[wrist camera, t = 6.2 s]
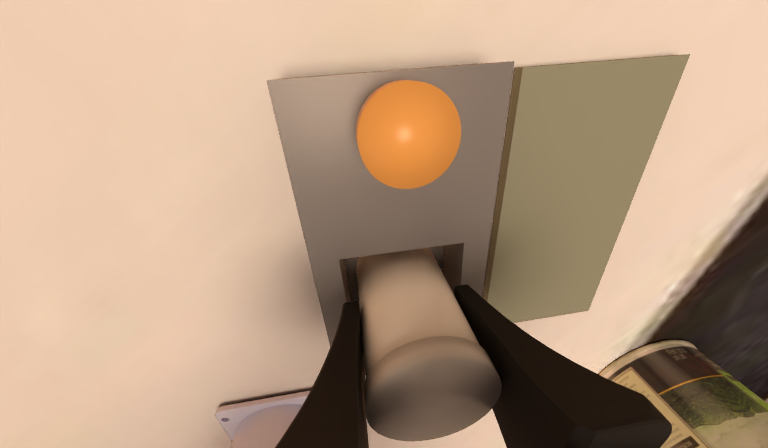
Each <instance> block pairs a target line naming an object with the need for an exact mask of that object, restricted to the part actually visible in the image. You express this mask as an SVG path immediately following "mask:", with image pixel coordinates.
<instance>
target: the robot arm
mask: <svg viewBox="0 0 768 448" xmlns="http://www.w3.org/2000/svg"><path fill="white" fill-rule="evenodd" d="M454 296H455V298H456V300H457V302H458V304H459V306H460V308H461V310H462V312H463V313H464V315H465V317H466V319H467V321H468V323H469V325H470V327H471V329H472V331H473V333H474V335H475V337H476V339H477V341H478V343H479V345H480V346H481V347H482V348H483V349H484V350H485V351H486V352H487V354H488V356H489V358H490V359H491V361H492V363H493V365H494V367H495V369H496V371H497V373H498V375H499V377H500V379H501V384H502V388H501V393H500V396H499V398H498V400H497V402H496V404H495V405H494V406H493V408H492V409H493V411H494V414H495V416H496V419H497V422H498V424H499V427H500V430H501V433H502V435H503V438H504V441H505V443H506V446H507V448H660V447H661V446H662V445H663V444H664V443H665V441H666V440H667V439H668V438H669V436H670V435H671V433H672V425H671V423H670V422H669V421H668V420H667V418H666V417H665V416H664V415H663V414H662V413H661V412H660V411H659V410H658V409H657V408H656V407H655V406H654V405H653V404H652V403H651V402H650V401H649V400H648V399H647V398H646V397H645V396H644V395H643V394H641V393H639V392H636V391H634V390H632V389H629V388H627V387H625V386H622V385H620V384H618V383H615V382H613V381H611V380H609V379H607V378H604V377H602V376H600V375H598V374H596V373H594V372H592V371H590V370H588V369H586V368H584V367H582V366H580V365H579V364H577V363H575V362H573V361H571V360H569V359H568V358H566V357H564V356H562V355H561V354H559V353H557V352H555V351H554V350H552V349H550V348H549V347H547V346H546V345H544V344H542V343H541V342H539V341H538V340H536V339H535V338H533V337H532V336H530V335H529V334H527V333H526V332H525V331H523V330H522V329H520V328H519V327H518V326H516V325H515V324H514V323H512V322H511V321H510V320H509V319H507V318H506V317H505V316H504V315H502V314H501V313H500V312H499V311H498V310H496V309H495V308H494V307H493V306H492V305H490V304H489V303H488V302H487V301H486V300H485V299H484V298H482V297H481V296H480V295H479V294H478V293H477V292H476V291H475V290H473V289H472V288H471V287H470V286H469V285H468V284H466V285H459V286H455V290H454ZM364 384H365V361H364V349H363V338H362V326H361V315H360V309H359V302H358V301H353V302H346V303H344V304H343V307H342V312H341V317H340V321H339V324H338V328H337V331H336V334H335V337H334V339H333V342H332V345H331V348H330V350H329V353H328V355H327V357H326V360H325V362H324V364H323V367H322V369H321V371H320V373H319V375H318V377H317V379H316V381H315V383H314V385H313V387H312V389H311V391H305V392H299V393H294V394H288V395H282V396H277V397H271V398H265V399H260V400H254V401H248V402H243V403H237V404H231V405H226V406H221V407H219V408H218V409H217V411H216V413H215V417H216V418H217V420H218V421H219V423H220V424H221V426H222V427H223V429H224V430H225V432H226V433H227V435H228V436H229V438H230V439H231V441H232V445H231V448H369V445H368V434H367V422H366V407H365V394H364Z"/></svg>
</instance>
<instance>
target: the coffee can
mask: <svg viewBox="0 0 768 448" xmlns="http://www.w3.org/2000/svg"><path fill="white" fill-rule="evenodd" d="M599 375H600V376H602V377H604V378H607V379H609V380H611V381H613V382H615V383H618V384H620V385H622V386H625V387H627V388H629V389H632V390H634V391H636V392H639V393H641V394H643V395H644V396H645V397H646V398H647V399H648V400H649V401H650V402H651V403H652V404H653V405H654V406H655V407H656V408H657V409H658V410H659V411H660V412H661V413H662V414H663V415H664V416H665V417H666V418H667V420H668V421H669V422H670V423H671V425H672V433H671V435H670V436H669V438H668V439H667V440H666V441H665V443H664V444H663V445H662V446H661V447H660V448H768V404H767V403H766V402H765V401H763V400H762V399H761V398H759V397H758V396H757V395H755V394H754V393H753V392H752V391H750V390H749V389H748V388H746V387H745V386H744V385H743V384H741V383H740V382H739V381H738V380H736V379H735V378H734V377H732V376H731V375H730V374H729V373H727V372H726V371H725V370H723V369H722V368H721V367H719V366H718V365H717V364H716V363H714V362H713V361H712V360H710V359H709V358H708V357H707V356H705V355H704V354H703V353H702V352H700V351H699V350H698V349H697V348H696V347H695V346H694V345H693V344H691V343H690V342H687V341H684V340H664V341H659V342H655V343H651V344H647V345H644V346H642V347H639V348H637V349H635V350H632V351H630V352H628V353H627V354H625V355H623V356H621V357H620V358H618V359H617V360H615V361H614V362H612V363H611V364H610V365H608V366H607V367H606V368H605V369H604V370H602V371H601V372H600V373H599Z"/></svg>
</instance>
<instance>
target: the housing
mask: <svg viewBox="0 0 768 448" xmlns="http://www.w3.org/2000/svg"><path fill="white" fill-rule="evenodd" d="M513 68H514V62H498V63H482V64H469V65H456V66H443V67H430V68H417V69H404V70H391V71H378V72H364V73H351V74H338V75H325V76H312V77H299V78H286V79H275V80H266V81H267V85H268V89H269V93H270V97H271V101H272V105H273V110H274V114H275V118H276V122H277V126H278V130H279V135H280V139H281V143H282V147H283V151H284V155H285V160H286V164H287V168H288V172H289V176H290V180H291V185H292V189H293V193H294V197H295V201H296V205H297V209H298V214H299V218H300V222H301V226H302V230H303V234H304V239H305V243H306V247H307V251H308V255H309V259H310V264H311V268H312V272H313V276H314V280H315V284H316V289H317V293H318V297H319V301H320V305H321V309H322V313H323V318H324V322H325V326H326V330H327V334H328V338H329V343H330V347H331V345H332V342H333V339H334V337H335V334H336V331H337V328H338V324H339V321H340V317H341V312H342V307H343V304H344V303H346V302H351V300H350V294H349V288H348V282H347V276H346V270H345V264H344V259H348V258H355V257H362V256H370V255H377V254H385V253H392V252H399V251H407V250H414V249H421V248H429V247H436V246H443V245H444V267H443V275H444V277H445V279H446V280H447V282H448V284H449V286H450V288H451V290H452V292H453V294H454V290H455V286H459V285H466V284H468V285H469V286H470V287H471V288H472V289H473V290H475V291H476V292H477V293H478V294H479V295H480V296H481V297H482V293H483V285H484V278H485V271H486V264H487V256H488V249H489V242H490V235H491V227H492V220H493V213H494V206H495V198H496V191H497V184H498V177H499V169H500V162H501V155H502V148H503V140H504V133H505V126H506V119H507V111H508V104H509V97H510V90H511V82H512V75H513ZM397 80H412V81H420V82H425V83H429V84H431V85H434V86H436V87H438V88H439V89H440V90H442V91H443V92H444V93H445V94H446V95H447V96H448V97H449V98H450V99H451V100H452V102H453V103H454V105H455V107H456V109H457V112H458V114H459V118H460V123H461V139H460V144H459V148H458V151H457V154H456V156H455V158H454V160H453V162H452V163H451V165H450V166H449V167H448V169H447V170H446V171H445V172H444V173H443V174H442V175H441V176H440V177H438V178H437V179H436V180H434V181H432V182H431V183H429V184H427V185H424V186H421V187H418V188H413V189H398V188H394V187H391V186H388V185H386V184H384V183H382V182H380V181H379V180H377V179H376V178H375V177H374V176H373V175H372V174H371V173H370V172H369V171H368V169H367V168H366V166H365V165H364V163H363V161H362V158H361V155H360V152H359V148H358V144H357V139H356V122H357V118H358V115H359V112H360V109H361V107H362V105H363V104H364V102H365V101H366V99H367V98H368V97H369V96H370V95H371V94H372V93H373V92H374V91H375V90H376V89H378V88H379V87H381V86H382V85H384V84H387V83H389V82H392V81H397Z"/></svg>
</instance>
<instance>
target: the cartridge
mask: <svg viewBox="0 0 768 448" xmlns="http://www.w3.org/2000/svg"><path fill="white" fill-rule="evenodd" d="M357 280H358V292H359V303H360V315H361V326H362V338H363V349H364V361H365V372H366V380H365V384H364V394H365V407H366V418H367V421H368V423H369V425H370V426H371V427H372V429H373V430H375V431H376V432H377V433H379V434H381V435H383V436H385V437H388V438H391V439H395V440H401V441H422V440H430V439H435V438H440V437H443V436H447V435H450V434H453V433H455V432H458V431H460V430H462V429H464V428H466V427H468V426H470V425H472V424H473V423H475V422H477V421H478V420H479V419H481V418H482V417H483V416H485V415H486V414H487V413H488V412H489V411H490V410H491V409H492V408H493V406H494V405H495V404H496V402H497V400H498V398H499V396H500V393H501V388H502V384H501V379H500V377H499V375H498V373H497V371H496V369H495V367H494V365H493V363H492V361H491V359H490V358H489V356H488V354H487V352H486V351H485V350H484V349H483V348H482V347H481V346H480V345H479V343H478V341H477V339H476V337H475V335H474V333H473V331H472V329H471V327H470V325H469V323H468V321H467V319H466V317H465V315H464V313H463V312H462V310H461V308H460V306H459V304H458V302H457V300H456V298H455V296H454V294H453V292H452V290H451V288H450V286H449V284H448V282H447V280H446V279H445V277H444V275H443V273H442V271H441V269H440V267H439V265H438V263H437V261H436V259H435V257H434V255H433V253H432V251H431V249H430V248H421V249H414V250H407V251H399V252H392V253H385V254H377V255H370V256H362V257H359V259H358V262H357Z"/></svg>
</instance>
